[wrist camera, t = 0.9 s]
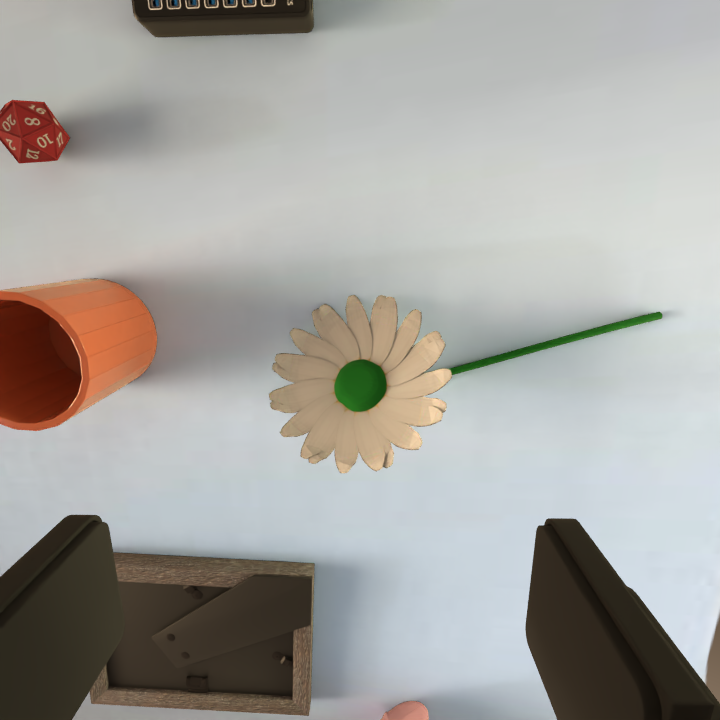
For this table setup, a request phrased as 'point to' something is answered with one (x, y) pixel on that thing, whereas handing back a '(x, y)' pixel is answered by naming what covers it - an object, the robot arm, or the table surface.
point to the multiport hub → (223, 17)
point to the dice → (31, 132)
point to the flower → (374, 381)
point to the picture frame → (212, 635)
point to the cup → (68, 349)
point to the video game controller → (407, 712)
